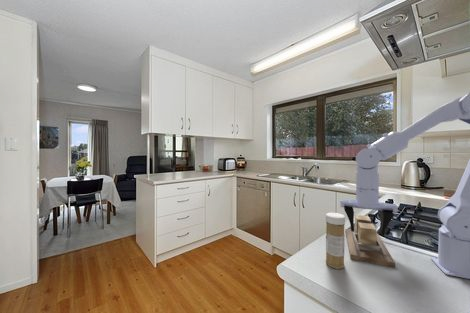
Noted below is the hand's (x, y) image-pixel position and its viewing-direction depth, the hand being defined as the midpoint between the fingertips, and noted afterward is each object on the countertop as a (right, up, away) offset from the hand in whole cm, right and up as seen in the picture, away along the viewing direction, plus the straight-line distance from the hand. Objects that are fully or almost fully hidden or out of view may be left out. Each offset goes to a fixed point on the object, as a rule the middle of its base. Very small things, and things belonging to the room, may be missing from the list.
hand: (366, 232), depth 61 cm
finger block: (0, -4, 0) cm, 4 cm away
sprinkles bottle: (-14, -6, -8) cm, 17 cm away
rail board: (+1, -5, +2) cm, 5 cm away
